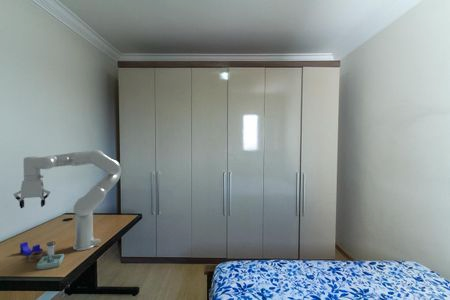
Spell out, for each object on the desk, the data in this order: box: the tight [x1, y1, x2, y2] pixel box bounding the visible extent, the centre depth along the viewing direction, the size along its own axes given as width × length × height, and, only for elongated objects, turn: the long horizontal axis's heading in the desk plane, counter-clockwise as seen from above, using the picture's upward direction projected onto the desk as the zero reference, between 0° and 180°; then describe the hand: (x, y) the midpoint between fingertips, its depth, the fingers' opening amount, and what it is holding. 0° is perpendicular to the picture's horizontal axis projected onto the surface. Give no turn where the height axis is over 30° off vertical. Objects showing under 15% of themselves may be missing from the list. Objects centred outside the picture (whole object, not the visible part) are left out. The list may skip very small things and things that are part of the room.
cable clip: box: [19, 241, 44, 257], centre depth 141 cm, size 12×4×6 cm, turn 72°
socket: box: [27, 250, 46, 263], centre depth 135 cm, size 6×6×3 cm
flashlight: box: [46, 240, 56, 263], centre depth 129 cm, size 4×4×11 cm
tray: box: [35, 253, 65, 271], centre depth 129 cm, size 10×10×2 cm
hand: (32, 206), depth 139 cm, fingers open, 9 cm apart
